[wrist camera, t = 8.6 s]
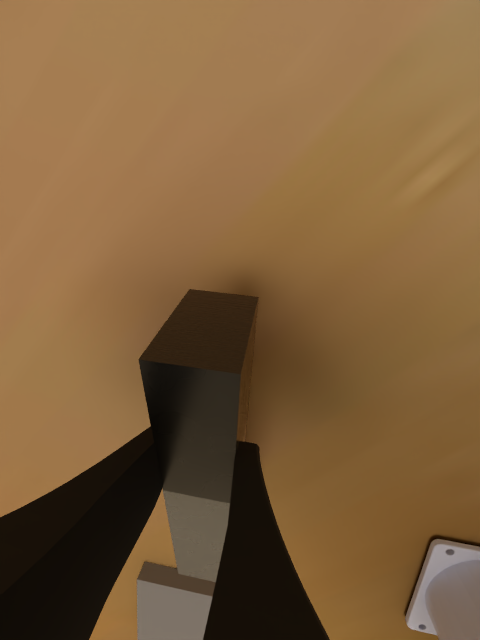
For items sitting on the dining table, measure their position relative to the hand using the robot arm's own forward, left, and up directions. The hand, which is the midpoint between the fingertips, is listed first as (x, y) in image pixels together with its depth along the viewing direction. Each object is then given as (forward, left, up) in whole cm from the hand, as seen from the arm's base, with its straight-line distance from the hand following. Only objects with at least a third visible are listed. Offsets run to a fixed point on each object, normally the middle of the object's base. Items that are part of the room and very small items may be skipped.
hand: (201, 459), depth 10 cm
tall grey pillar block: (0, +1, -4) cm, 4 cm away
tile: (+2, +18, -8) cm, 20 cm away
